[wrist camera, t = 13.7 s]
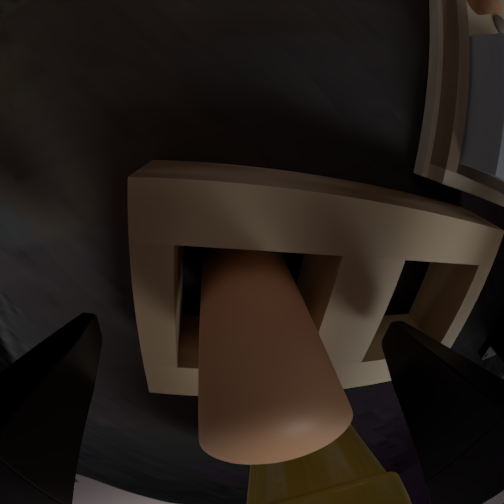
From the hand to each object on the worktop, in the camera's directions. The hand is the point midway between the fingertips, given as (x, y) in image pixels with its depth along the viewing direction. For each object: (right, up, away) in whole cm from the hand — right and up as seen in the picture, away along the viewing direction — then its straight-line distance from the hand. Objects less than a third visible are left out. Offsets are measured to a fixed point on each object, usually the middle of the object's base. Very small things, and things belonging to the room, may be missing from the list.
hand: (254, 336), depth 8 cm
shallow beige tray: (+11, +12, 0) cm, 16 cm away
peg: (0, +2, +3) cm, 4 cm away
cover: (+11, +9, 0) cm, 14 cm away
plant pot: (+3, -10, +10) cm, 15 cm away
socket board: (+3, +1, +4) cm, 5 cm away
